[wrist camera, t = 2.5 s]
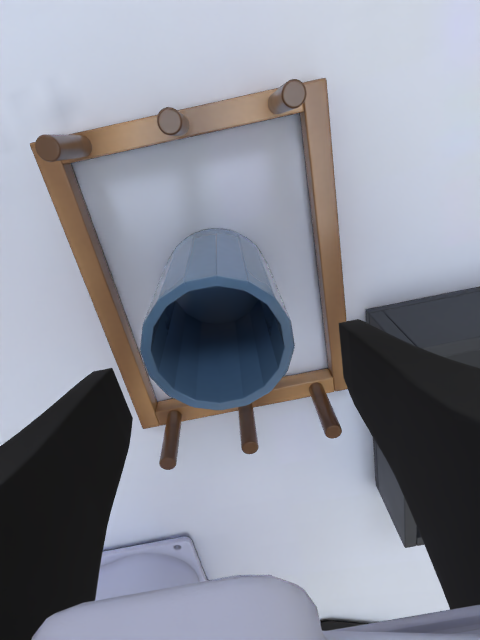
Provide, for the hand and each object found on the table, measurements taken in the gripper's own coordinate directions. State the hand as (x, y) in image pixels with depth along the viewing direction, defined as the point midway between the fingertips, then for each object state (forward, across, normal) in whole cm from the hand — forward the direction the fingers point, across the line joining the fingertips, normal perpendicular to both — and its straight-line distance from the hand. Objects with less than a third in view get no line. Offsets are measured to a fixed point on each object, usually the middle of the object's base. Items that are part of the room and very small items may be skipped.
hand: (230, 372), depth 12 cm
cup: (+8, 0, 0) cm, 8 cm away
